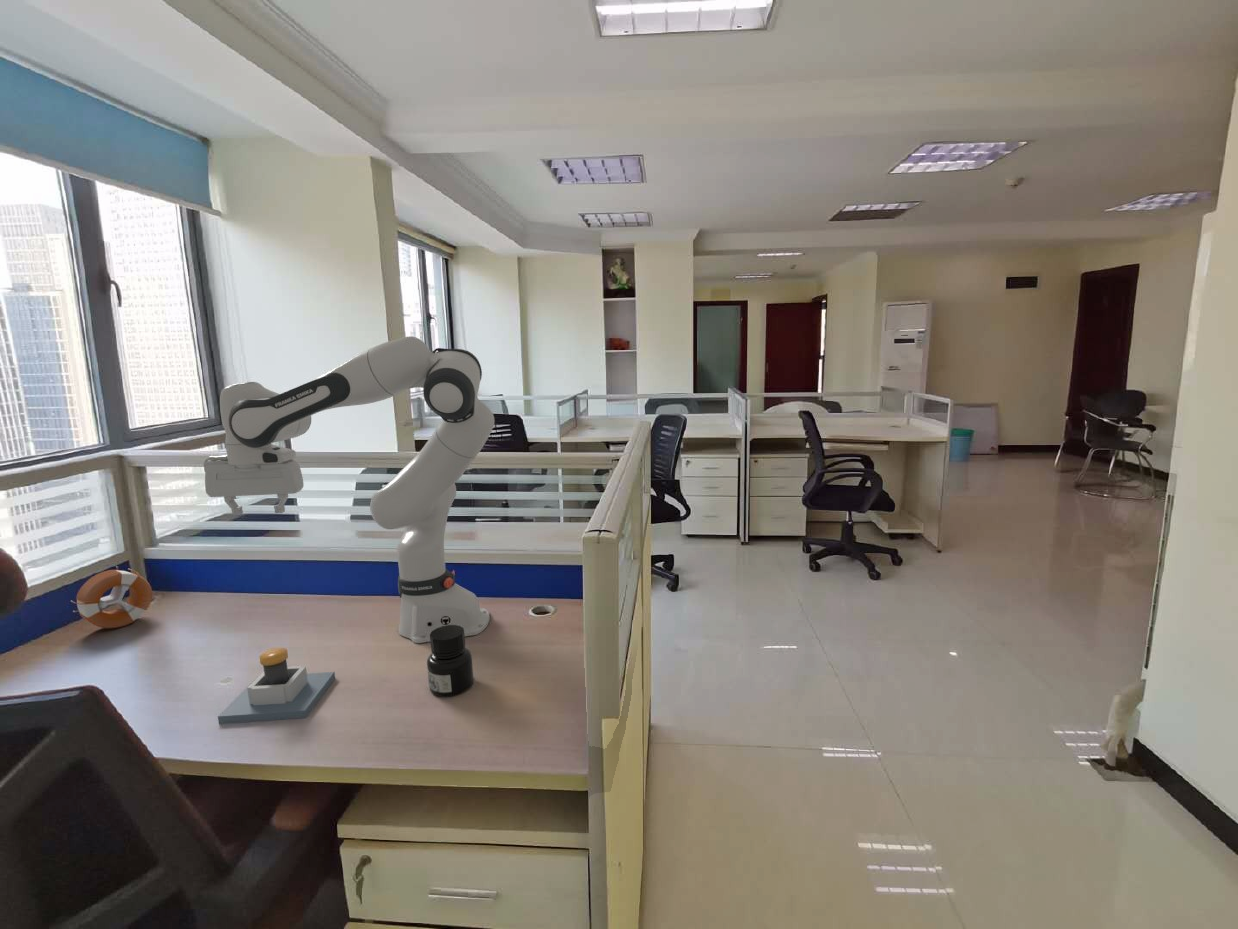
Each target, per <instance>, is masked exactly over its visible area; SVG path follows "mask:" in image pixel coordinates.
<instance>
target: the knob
mask: <svg viewBox="0 0 1238 929" xmlns="http://www.w3.org/2000/svg"><path fill="white" fill-rule="evenodd" d="M288 658H289V654H288V649H287V648H284V647H277V648H272V649H269V650H266V651H264V652H262V653H261V654H260V656H259V663H260V665H261V666H263V671H264V674H265V681H266V685H281V684H286V683H287V682H288V681H289V676H288V669H287V667H288V664H287V662H288V661H287V659H288Z"/></svg>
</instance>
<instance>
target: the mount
mask: <svg viewBox="0 0 1238 929" xmlns="http://www.w3.org/2000/svg"><path fill="white" fill-rule="evenodd" d="M287 669H288V676H289V681H288V682H287V683H286V684H281V685H266V681H265V674H264V670H263V671H262V672H261V673H260V674H259V675H258V676H256V677H255V679H253V680H252V681H251V682H250V683H249V684H248V685H247V686H246V687H245V689H243V690H242V691H241V692H240V693H239V695H238V696H236V698H234V700H233V701H232V702H230V703H229V704H228V706H226V708H224V709H223V710H222V711H221V712H220V714H219V715H218V716H217V719H218V724H219V725H220V724H232V723H247V722H248V723H249V722H262V721H263V722H264V721H274V720H275V721H276V720H290V719H305V718H307V716H308V715H310V713H311V711H312V710H313V709H314V707H315V706H316V705H317V704H318V702H319V701H320V699H321V698H322V697H323V696H324V695H325V692H326V691H327V690H328V688H330V686H331V685H332V683H333V682H334V681H335V679H336V675H335V674H336V673H335V671H328V672H313V673H310V672H309V673H308V672H307V667H306V666H303V665H293V666H292V665H291V666H287Z"/></svg>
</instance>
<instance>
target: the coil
mask: <svg viewBox="0 0 1238 929" xmlns="http://www.w3.org/2000/svg"><path fill="white" fill-rule="evenodd" d="M115 568H116V569H109V570H106V571H105V570H104V571H102V572H99V573H96V574H94V576H93V575H92V577H90V578H88V579H87V581H85V582H84V583H83V585H82V586H81V587H80V589H79V590H78V591H77V594H76V598H75V599H76V602H75V601H73V600H70V602H71V603H73V604H76V606H77V610H72V612H73V613H77V612H79V615H80V617H81V618H82V619H84V620H85V621H86V622H88V623H90V624H92V625H94V626H96V627H99V628H103V629H110V630H111V629H118V628H122V627H124V626H125V627H126V626H128V625H130V624H132V623H135V622H134V621H136V620H137V619H138V618H140V617H141V616H142V615H143V614H144V613H145V612H146V611H148V609H149V608H150V605H151V603H152V600H153V590H152V587H151V585H150V583H149V582H148V581H147V579H146V578H144V577H143V576H141V575H140V573H139V572H138V571H136V570H135V569H131V568H127V570H129V571H132V572H129V571H126V570H120V569H119V566H115ZM110 589H111V592H110V594H109V595H106V596H103V595H104V594H105V593H106V592H107V591H109V590H110ZM128 590H129V595H128V596H129V598H128V599H127V601H126V602H125V601H123V598H124V595H125V594H126V591H128ZM114 604H116V606H117V607H119V608H117V609H114V610H110V611H106V610H102V609H105V608H107V606H111V605H114Z"/></svg>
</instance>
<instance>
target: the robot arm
mask: <svg viewBox="0 0 1238 929" xmlns="http://www.w3.org/2000/svg"><path fill="white" fill-rule="evenodd" d="M482 377H483V372H482V366H481V364H480V361H479V359H478V358H477V357H476V356H475V354H474V353H472V352H470V351H468V350H467V349H466V350H465V349H462V348H441V347H437V348H435V349H434V350H432V351H431V350H430V348H429V347H428V345H427V344H426V343H425V342H424V341H423V340H421V339H420V338H418V337H415V336H404V337H400V338H397V339H393V340H388V341H386V342H383V343H380V344H378V345H376V346H374V347H371V348H369V349H367V350H365V351H363V352H360V353H359V354H357V355H355V356H354V357H352V358H350V359H348V360H346V361H345V362H343V363H342V364H340V365H338V366H337V367H334V368H333V369H331V370H329V371H327V372H325V373H324V374H322V375H320V376H319V377H316V378H314V379H312V380H310V381H307V382H306V383H303V384H302V385H301V384H300V385H298V386H296V387H294V388H291V389H289V390H287V391H284V392H282V393H278V392H275V391H273V390H271V389H268V388H266V387H264V386H263V385H262V384H261V383H259V382H257V381H247V382H241V383H240V382H239V383H235V384H230V385H227V386H225V387H224V388H222V390H221V392H220V396H219V408H220V417H221V418H220V419H221V424H222V427H223V429H224V432H225V440H224V444H225V445H224V446H225V450H226V455H211V456H209V457H208V458H206V459H205V460H204V462H203V470H204V484H205V485H204V487H205V493H206V494H207V496H208V497H210V498H220V497H221V498H223V500H224V502H225V503H226V504H227V506H229V508H230V509H231V514H232V516H240V515H242V514H243V512H244V510H243V506H242V505H238V503H237V502H236V501H235V500H236V499H237V497H245V496H246V497H247V496H268V495H270V496H271V495H272V496H273V495H276V497H277V499H278V500H279V502H278V504H276V505H274V506H273V509H274V513H275V514H283V513H284V512H285V511H286V506H285V504H286V502H287V500H288V498H289V494H291V495H292V494H293V495H294V494H297V493H299V492H301V491H302V490H303V488H304V478H303V477H304V476H303V474H302V470H301V466H300V464H299V463H298V462H297V461H296V460H295V459H296V457H297V453H296V451H295V450H294V449H292V448H286V447H284V446H280V445H276V444H274V443H279V442H281V441H286V440H291V439H294V438H298V437H300V436H302V435H305V433H306V432H308V431H309V429H310V427H311V424H312V416H313V415H315V414H317V413H320V412H324V411H326V410H331V409H336V408H342V407H345V408H346V407H353V406H362V405H367V404H374V403H377V402H381V401H384V400H386V399H390V398H393V397H394V396H398V394H401V393H403V392H405V391H407V390H409V389H416V388H422V389H423V390H422V391H423V392H422V394H423V398H424V402H425V403H426V405H427V407H428V408H429V409H430V410H431V411H432V412H433V413H435V414H436V415H438V416H439V417H441V419H442V420H441V422H440V424H439V425H438V426H437V427H436V429H435V430H434V431H433V433H432V434H431V436H430V437H429V439H428V440H427V441H426V443H425V444H424V446H423V447H422V448H421V450H419V452H418V453H417V454H416V455H415V456H414V457H413V458H412V459H411V460H410V461H408V463H407V464H406V465H405V466H404V467H403V468H402V469H401V470H400V471H399V472H398V473H397V474H396V475H395V476H394V477H393V478H392V479H390V481H388V483H387V484H385V485H384V486H383V487H381V488H380V489H379V490H377V491H376V492H375V493H374V494H373V495H372V497H371V499H370V503H369V510H370V514H371V517H372V518H373V521H374V522H375V523H376V524H377V525H378V526H379V527H380V528H383V529H385V530H399V529H404V530H403V533H402V536H401V537H400V539H399V541H398V544H397V547H396V554H397V555H396V556H397V563H398V564H397V565H398V573H399V575H398V577H397V587H398V588H397V589H398V594H399V598H400V599H401V600H400V619H399V624H398V629H397V632H398V633H399V635H400V636H401V637H404V638H407V639H410V640H411V641H412V642H413V643H415V644H423V643H429V642H430V633H431V632H432V631H433V630H435V629H436V628H439V627H442V626H447V625H458V626H461V627H462V628H464V635H465V637H469V636H476V635H479V634H481V633H482V632H483V631H484V630H485V629H486V628H487V627H488V625H489V622H490V618H491V617H490V612H489V610H488V609H487V608H484V607H481V605H480V602H479V599H478V597H477V595H476V593H474V592H472V591H470V590H468V589H467V588H465V587H462V586H460V584H457V583H456V581H455V580H456V579H455V575H456V574H455V570H454V569H453V570H452V571H450V570H448V569H447V568H446V559H445V533H446V526H447V520H448V516H449V512H450V508H451V506H452V504H453V502H454V500H455V499H456V497H457V486H456V484H455V483H456V482H458V481H459V480H460V478H461V477H462V476H463V474H464V473H465V472H466V470H467V469H468V468H469V467H470V466H471V464H472V463H473V461H474V460H475V458H476V457H477V456H478V455H479V453H480V452H481V451H482V449H483V448H484V446H485V444H486V443H487V441H488V439H489V437H490V435H491V432H492V430H493V429H494V425H495V416H494V413H493V412H492V410H491V409H490V408H489V406H487V405H486V404H485V403H483V402H482V401H480V399H479V397H478V393H479V389H480V385H481V381H482ZM430 643H431V642H430Z"/></svg>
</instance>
